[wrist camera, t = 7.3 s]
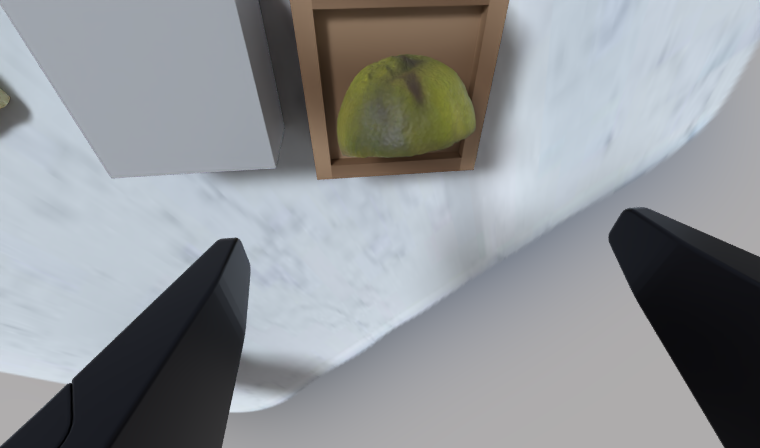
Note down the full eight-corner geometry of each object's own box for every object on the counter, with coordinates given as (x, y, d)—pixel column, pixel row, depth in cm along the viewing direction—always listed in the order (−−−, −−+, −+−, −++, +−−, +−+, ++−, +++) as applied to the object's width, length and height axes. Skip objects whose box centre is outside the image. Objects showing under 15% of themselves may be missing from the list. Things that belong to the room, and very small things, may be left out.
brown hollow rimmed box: (451, 131, 19) (473, 169, 16) (319, 138, 19) (317, 179, 16) (475, -33, 14) (513, -21, 11) (296, -30, 14) (287, -16, 11)
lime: (469, 89, 14) (517, 148, 11) (387, 163, 16) (404, 234, 13) (399, 2, 12) (429, 38, 8) (313, 100, 14) (307, 165, 10)
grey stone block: (285, 127, 18) (275, 168, 15) (148, 134, 18) (111, 178, 15) (251, -37, 14) (228, -25, 11) (63, -34, 13) (-16, -20, 10)
